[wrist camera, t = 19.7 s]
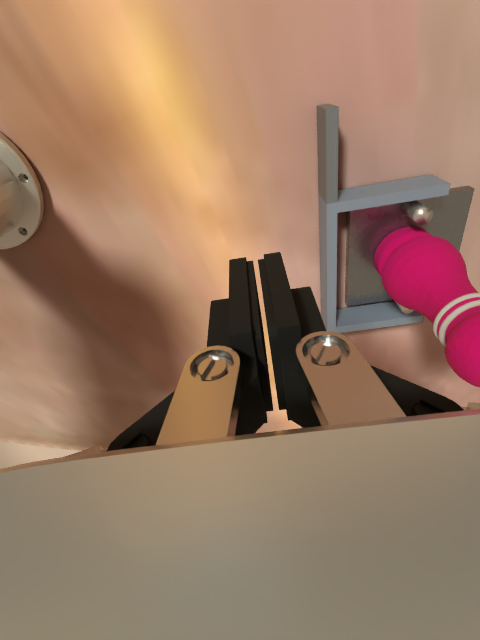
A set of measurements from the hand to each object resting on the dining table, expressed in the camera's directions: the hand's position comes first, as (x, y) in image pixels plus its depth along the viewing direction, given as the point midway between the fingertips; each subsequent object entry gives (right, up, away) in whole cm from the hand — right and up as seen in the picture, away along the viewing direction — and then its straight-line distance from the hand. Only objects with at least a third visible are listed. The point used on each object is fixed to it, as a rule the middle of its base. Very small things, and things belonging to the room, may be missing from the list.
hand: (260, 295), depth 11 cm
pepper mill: (+17, +7, +26) cm, 31 cm away
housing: (+13, +9, +24) cm, 29 cm away
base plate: (+17, +7, +26) cm, 32 cm away
